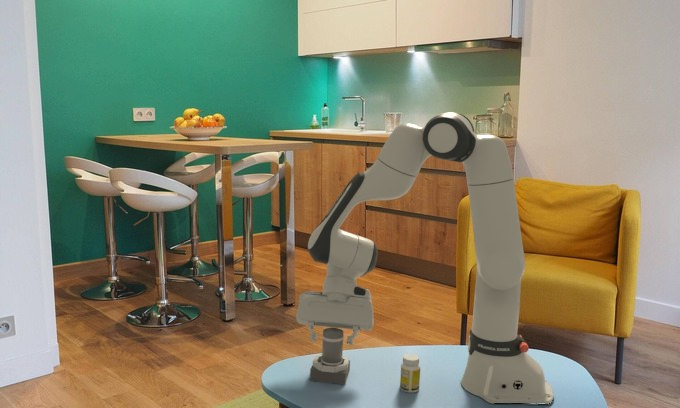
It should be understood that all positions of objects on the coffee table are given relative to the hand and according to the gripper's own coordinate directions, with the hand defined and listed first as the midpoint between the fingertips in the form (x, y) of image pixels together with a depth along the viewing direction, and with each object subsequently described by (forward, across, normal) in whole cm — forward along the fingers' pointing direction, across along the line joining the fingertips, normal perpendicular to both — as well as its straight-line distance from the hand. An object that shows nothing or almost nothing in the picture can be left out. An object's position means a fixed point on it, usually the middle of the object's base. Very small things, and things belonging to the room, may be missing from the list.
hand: (331, 342), depth 160 cm
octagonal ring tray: (+6, 0, +7) cm, 9 cm away
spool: (+4, 0, +5) cm, 6 cm away
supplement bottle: (+8, +20, +6) cm, 23 cm away
